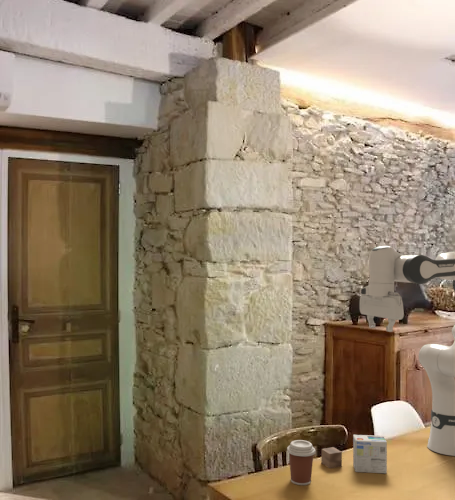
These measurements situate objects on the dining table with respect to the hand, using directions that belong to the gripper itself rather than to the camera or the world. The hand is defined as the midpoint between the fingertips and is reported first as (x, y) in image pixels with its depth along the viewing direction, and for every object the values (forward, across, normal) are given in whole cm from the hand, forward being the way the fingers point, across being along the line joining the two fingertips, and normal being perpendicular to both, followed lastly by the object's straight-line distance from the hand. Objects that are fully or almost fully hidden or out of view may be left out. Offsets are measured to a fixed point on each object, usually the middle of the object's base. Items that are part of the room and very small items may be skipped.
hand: (380, 329), depth 189 cm
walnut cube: (+47, +3, +18) cm, 50 cm away
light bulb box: (+47, -5, +8) cm, 48 cm away
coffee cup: (+47, -5, +35) cm, 59 cm away
